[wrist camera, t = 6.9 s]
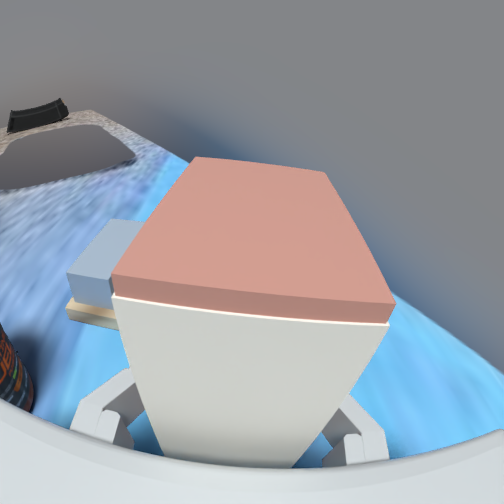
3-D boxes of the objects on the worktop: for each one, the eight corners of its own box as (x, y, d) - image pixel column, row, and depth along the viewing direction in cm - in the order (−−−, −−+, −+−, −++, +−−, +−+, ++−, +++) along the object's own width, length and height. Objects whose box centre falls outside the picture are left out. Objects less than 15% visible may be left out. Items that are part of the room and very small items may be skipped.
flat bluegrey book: (74, 302, 20) (66, 272, 18) (114, 244, 27) (111, 218, 25) (115, 310, 20) (108, 280, 18) (148, 248, 27) (146, 222, 26)
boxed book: (181, 490, 11) (106, 274, 4) (195, 399, 16) (194, 156, 9) (262, 498, 11) (399, 306, 4) (263, 406, 16) (325, 172, 9)
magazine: (0, 116, 79) (60, 83, 93) (0, 116, 80) (58, 84, 95) (13, 150, 91) (70, 117, 105) (13, 149, 92) (68, 116, 107)
